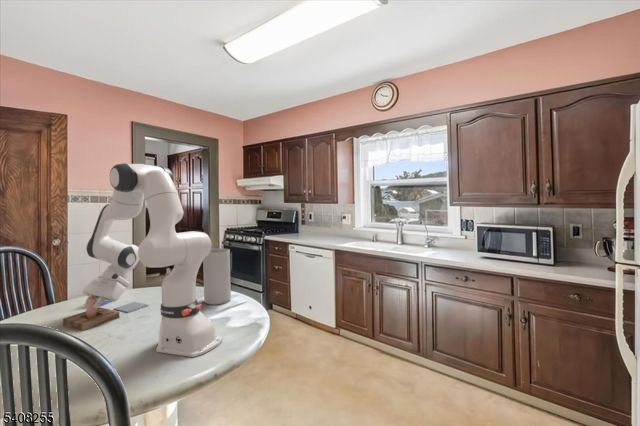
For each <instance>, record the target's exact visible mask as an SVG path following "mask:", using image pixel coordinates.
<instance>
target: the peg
mask: <svg viewBox="0 0 640 426" xmlns="http://www.w3.org/2000/svg"><path fill="white" fill-rule="evenodd" d="M96 302H97V298H90V299H87V298H86V299H85V303H86V306H85V310H86V311H85V312H86V315H87V319H90V318H93V317H96V316H97V309H94V308H92V307H91V306H92V305H93V303H96Z"/></svg>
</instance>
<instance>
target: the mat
mask: <svg viewBox="0 0 640 426" xmlns="http://www.w3.org/2000/svg"><path fill="white" fill-rule="evenodd" d="M148 306H149V304H146V303H142V302H138V301H132V302H129V303H127V304H123V305H120V306H118V307H114V308H113V311H117V310H118V311H117V312H123V313H126V314H130V313H132V312H135V311H137V309H138V310H141V309H143V307H144V308H146V307H148ZM140 308H141V309H140ZM134 310H135V311H134Z"/></svg>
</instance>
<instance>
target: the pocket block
mask: <svg viewBox="0 0 640 426" xmlns="http://www.w3.org/2000/svg"><path fill="white" fill-rule="evenodd" d="M119 318H120V311H117V310H114V309H113V310H112V309H108V308H103V307H101V306H98V308H97V316H96V317H93V318H90V319H87V315H86V311H83V312H80V313H76V314H72V315H70V316H66V317H63V318H62V325H63V326H67V327H70V328H72V329H76V330H79V331H82V332H83V331H86V330H89V329H90V330H91V329H93V328H95V327H98V326H100V325H103V324H106V323H108V322H111V321H114V320H116V319H119Z"/></svg>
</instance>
